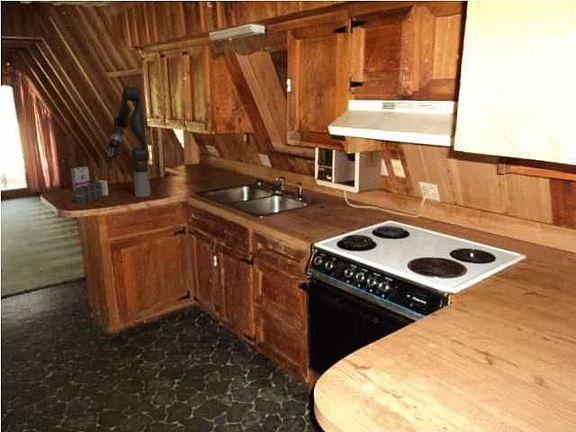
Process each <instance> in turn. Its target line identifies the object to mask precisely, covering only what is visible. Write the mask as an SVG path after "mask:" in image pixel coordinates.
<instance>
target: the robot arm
mask: <svg viewBox="0 0 576 432" xmlns="http://www.w3.org/2000/svg"><path fill="white" fill-rule="evenodd" d="M121 95H122V96H121V103H120V109H119V111H118V116H115V117H114V119H113V130H112V135H111V136H110V139H109V141H108V147H107V149H103V152H104V155H105V156H106V157H107V162H108V163H109V164H110V163H111V164H112V162H113V159H115V158H117V157H118V156H119V155H120V154H121V153H122V151H121V150H120V148H121V144H122V140H123V137H124V129H128V128H130V130H131V132H132V133H133V135H134V136H135V137H136V138H137V140H138V141H139V143H140V145H141V147H133V148H132V149H131V156H132V164H133V165H132V166H133V179H134V191H135V192H134V193H135V197H137V198H143V197H144V198H145V197H146V198H147V197H149V196H151V187H150V186H151V185H150V181H149V170H148V169H149V168H148V167H147V166H146V165H143V164H140V163H139V162H149V160H150V152H149V146H148V143H147V138H146V136H147V135H146V129H145V121H144V115H143V107H142V93H141V90H140V88H139V87H137V86H125V87H124V88H123V90H122V94H121ZM128 102H134V105H135V106H134V109H133V111H132V113H131V107H130V106H129V104H128ZM130 114H131V115H130ZM129 117H130V118H129Z"/></svg>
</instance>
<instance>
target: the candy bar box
mask: <svg viewBox="0 0 576 432" xmlns="http://www.w3.org/2000/svg"><path fill="white" fill-rule="evenodd" d="M89 170H90V169H89V167H88V166H79V167H74V168H70V173H71V182H72V190H73V192H75V188H76V187H80V188H81V186H83V185H84V186H87V184H91V178H90V177H91V176H90V171H89Z"/></svg>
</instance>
